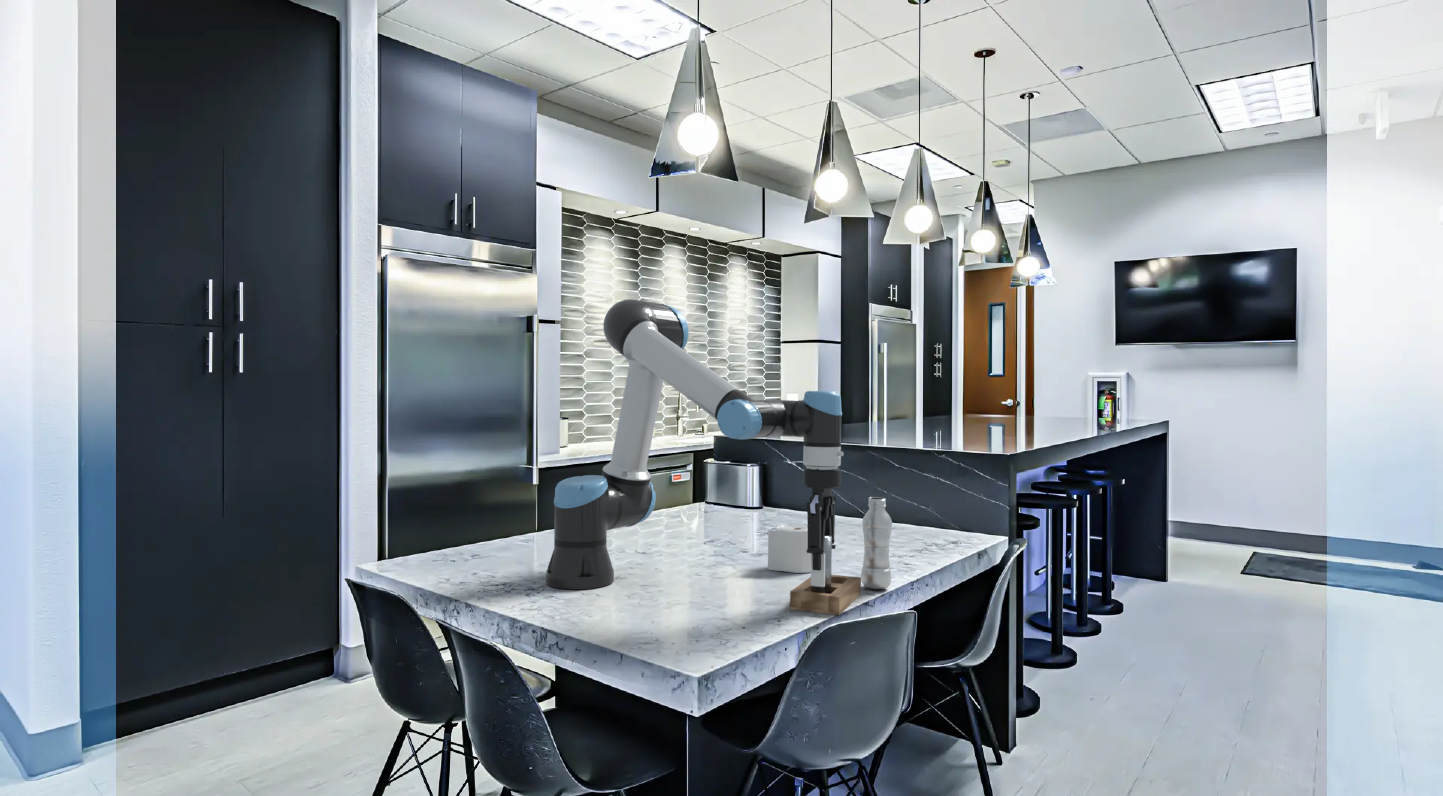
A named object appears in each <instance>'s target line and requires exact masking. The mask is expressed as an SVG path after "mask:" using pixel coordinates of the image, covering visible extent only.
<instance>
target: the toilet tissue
mask: <svg viewBox="0 0 1443 796" xmlns="http://www.w3.org/2000/svg"><path fill="white" fill-rule="evenodd" d="M767 532H768V534H767V535H768V539H767V540H768V541H767V546H768V547H767V569H768V570H770V571H772V570H773V571H781V572H786V573H792V574H793V573H794V574H795V573H796V574H799V573H800V574H805V573H808V574H809V573H811V553H807V550H808V549H807V548H808V524H794V523H793V524H781V525H779V526H776V527H775V530H768V531H767Z"/></svg>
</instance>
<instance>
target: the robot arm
mask: <svg viewBox="0 0 1443 796" xmlns="http://www.w3.org/2000/svg"><path fill="white" fill-rule="evenodd" d="M602 326H603V333H604V337H605V339H606V341H607V342H608V344H609V345H610V347H612V348H613V349H614V350H616V351H617V352H618V353H619V354H620V355H622V356H623V357H624V358H625V359H626V361H627V362H628V369H627V375H626V380H625V386H624V390H623V397H622V401H621V407H620V412H619V416H618V422H617V427H616V433H615V437H614V444H613V448H612V454H611V458H610V461H609V463H608V462H607V464H605V465H604V466H603V468H602V472H601V475H598V474H597V475H596V474H587V475H585V474H584V475H582V476H580V475H577V476H572V477H568V478H565V479H562V480H561V481H559V482H558V483H556V486H555V489H554V498H553V504H554V505H553V506H554V507H553V509H554V513H553V514H554V515H553V516H554V517H553V518H554V519H553V520H554V522H553V523H554V526H553V529H554V530H553V531H554V533H553V535H554V537H553V539H554V541H553V542H554V544H553V551H552V554H551V557H550V560H549V562H548V566H547V570H546V571H545V584H546V585H547V586H549V587H552V588H555V589H563V590H589V589H596V588H603V587H606V586H609V585H610V584H612V583H614V582H615V570H614V566H613V564H612V561H611V560H612V559H611V557H610V554H609V551H608V548H607V546H608V545H607V543H608V541H607V533H608V532H607V531H609V530H611V531H612V530H615V529H621V528H625V527H626V528H627V527H629V528H630V527H632V526H633V527H634V526H635V525H637V524H640V523H643V522H644V521H646V520H647V519H648V518H649V517H650V516H651V514H652V513H653V511H654V508H655V506H656V502H657V501H656V500H657V499H656V497H657V495H656V491H655V490H654V485H653V483H652V482H651V478H652V475H651V473H650V472H649V471H648V469H647V465H648V460H649V455H650V450H651V446H652V440H653V434H654V430H655V425H656V421H657V414H658V411H659V410H658V409H659V405H660V402H661V401H660V400H661V394H662V391H663V384H664V382H666V383H667V384H668V385H669V386H671V387H672V388H674V389H675V390H676V391H677V392H679V393H680V394H681V395H683V396H684V397H685V398H687V399H688V400H690V402H692V403H694V405H696V406H698V407H699V408H700V409H701V410H703V411H704V412H705V413H707V414H708V415H709V416H710V417H712V418H713V419H715V420H716V421H717V426H718V427H719V429H720V432H721V433H722V434H723V435H724V436H725V437H727V438H729V439H733V440H734V439H735V440H739V441H741V440H742V441H743V440H744V441H745V440H751V439H757V438H774V437H789V438H790V437H793V438H794V437H795V438H796V437H797V438H803V457H802V458H803V459H802V461H803V463H802V464H803V465H804V466H805V468H804V469H803V471H802V472H803V473H802V474H803V476H802V478H803V480H802V481H803V482H802V483H803V486H804V487H806V488H810V489H811V496H810V497H809V502H806V506H805V507H806V513H807V525H808V548H807V549H808V550H807V553H811V572H810V577H811V586H819V587H825V553H824V537H825V535H830V536H832V550H835V549H836V545H837V544H835V542H836V540H835V532H836V531H835V528H836V526H835V523H836V504H837V503H836V502H837V496H835V495H833V491H832V489H839V488H840V487H841V485H842V477H841V476H842V470H841V469H840V468H839V467H840V466H842V465H841V464H842V459H841V458H842V457H843V456H844V453H845V452H844V451H841V450H842V417H843V412H842V397H841V394H840V393H839V392H838V391H836V390H835V391H834V390H807V391H805V392H804V393H803V399H800V400H787V399H786V400H785V399H753V398H752V397H750V396H748V395H747V394H745V393H744V392H743V391H741V390H740V389H739V388H738V387H737V386H735V385H734V384H733V383H731V382H729V381H727V380H726V379H725V378H724V377H722V376H720V374H718V373H717V372H715V371H714V370H712V369H711V368H709V367H708V366H706V365H705V364H704V363H703V362H701V361H700V360H698V359H697V358H696V357H694V356H693V355H691V354H690V353H688V352H687V351H686V350H684V349H685V347H686V346H687V344H688V341H689V334H690V333H689V332H690V331H689V325H688V322H687V320H686V318H685V317H684V314H683V313H682V312H681V311H680V310H678V309H677V308H675V307H673V306H671V305H667V304H664V303H659V302H653V301H652V302H650V301H643V300H637V299H633V298H632V299H623V300H621V301H618V302H616V303H614V304H613V305H612V306H611V307H610V308H609V309H608V310H607V313H606V314H605V316H604V319H603V324H602Z"/></svg>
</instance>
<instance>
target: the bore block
mask: <svg viewBox="0 0 1443 796" xmlns="http://www.w3.org/2000/svg"><path fill="white" fill-rule="evenodd" d="M861 592H862V581H861V576H860V577H858V576H849V575H840V574H839V575H838V574H831V594H827V593H818V592H811V576H810V577H809V578H806V580H804V581H803V582H801V583H800V584H798V585H797V586H796V587H795V588H793V589H792V590H791V591H790V593H789V598H790V599H789V610H793V611H794V610H795V611H803V612H811V613H817V614H825V615H826V614H827V615H833V616H840V615H842V613H843V612H844V611H845V610H846V609H848V607H849V606H850V605H851V604H852V603H853V602H854V601H855V600H856V599H857V598H858V597H860V595H862V593H861Z"/></svg>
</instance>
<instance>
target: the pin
mask: <svg viewBox="0 0 1443 796" xmlns="http://www.w3.org/2000/svg"><path fill="white" fill-rule="evenodd" d="M832 545H833V544H832V536H830V535H825V537H824V553H825V587H819V586H811V592H818V593H827V594H831V575H832V563H833V562H832V559H833V558H832V556H833V555H832V553H833V552H832V550H833V549H832Z"/></svg>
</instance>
